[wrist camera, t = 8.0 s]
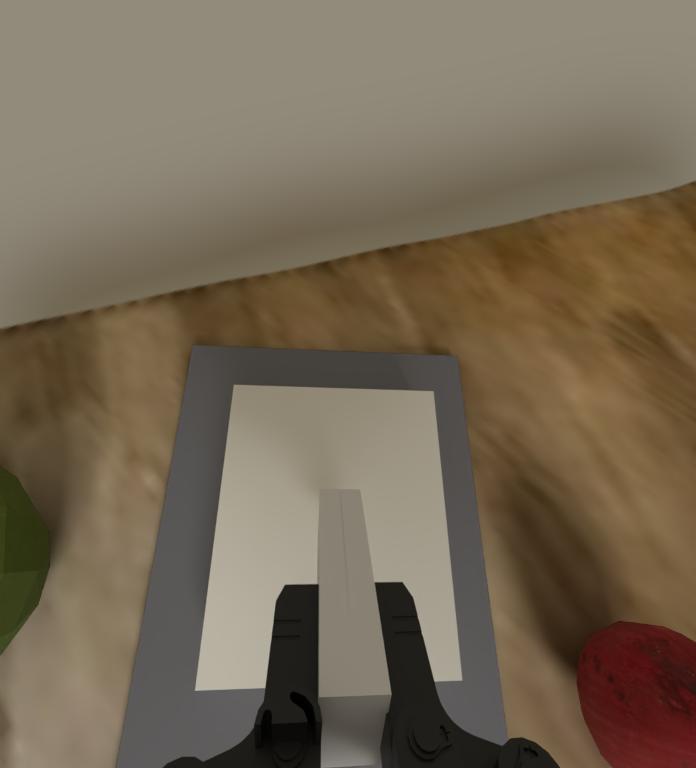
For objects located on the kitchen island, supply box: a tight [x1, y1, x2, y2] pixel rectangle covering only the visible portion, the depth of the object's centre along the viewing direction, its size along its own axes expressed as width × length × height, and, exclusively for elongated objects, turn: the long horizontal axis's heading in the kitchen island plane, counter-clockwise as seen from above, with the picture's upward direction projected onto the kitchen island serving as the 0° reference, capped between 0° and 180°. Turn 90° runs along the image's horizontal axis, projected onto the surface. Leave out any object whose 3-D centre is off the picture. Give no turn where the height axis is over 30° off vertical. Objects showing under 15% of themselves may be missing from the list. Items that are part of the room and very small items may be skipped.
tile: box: [195, 385, 462, 691], centre depth 17 cm, size 3×10×12 cm
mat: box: [116, 345, 508, 768], centre depth 18 cm, size 24×16×1 cm, turn 0°
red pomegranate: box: [576, 621, 696, 768], centre depth 14 cm, size 6×6×8 cm
